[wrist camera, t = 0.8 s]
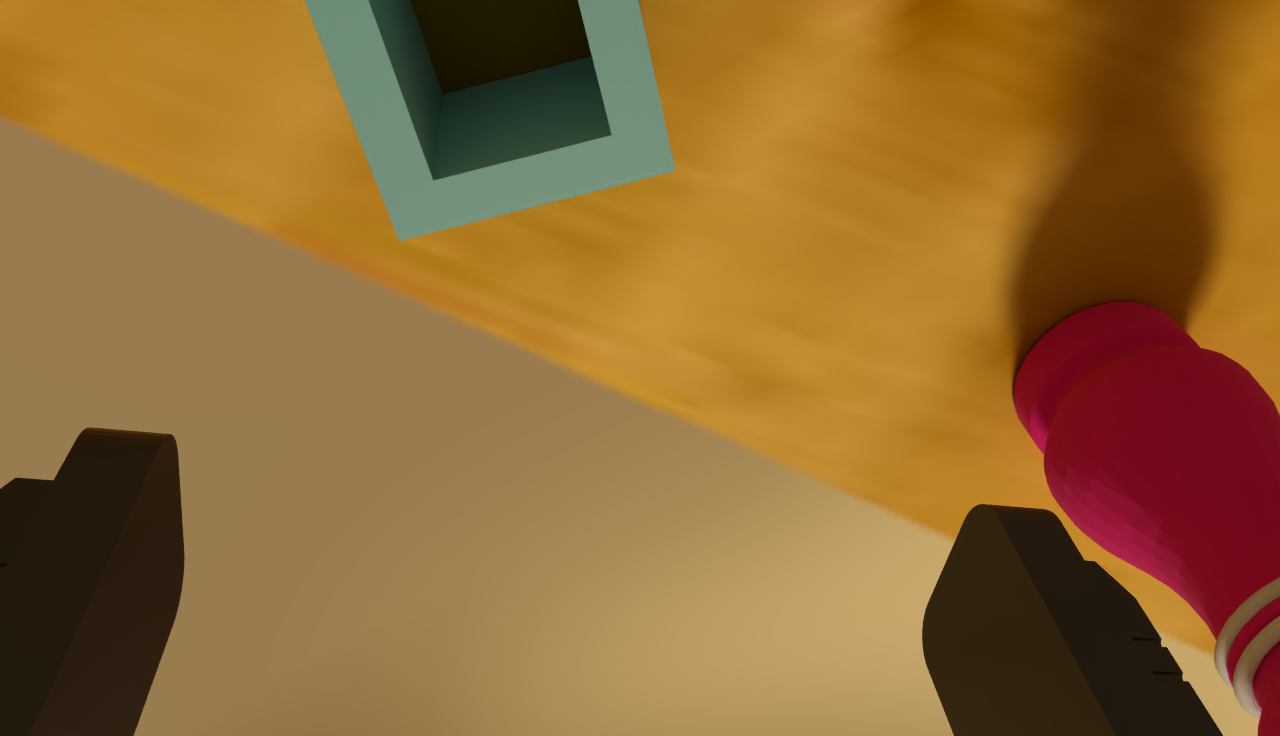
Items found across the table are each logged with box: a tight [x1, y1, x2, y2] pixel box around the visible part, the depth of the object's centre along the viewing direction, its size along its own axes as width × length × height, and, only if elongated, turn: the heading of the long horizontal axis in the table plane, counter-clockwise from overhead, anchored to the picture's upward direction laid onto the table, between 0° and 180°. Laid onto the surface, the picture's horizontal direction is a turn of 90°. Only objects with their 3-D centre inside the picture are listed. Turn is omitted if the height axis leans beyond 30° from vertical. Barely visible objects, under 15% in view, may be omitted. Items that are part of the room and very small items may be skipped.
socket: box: [305, 0, 676, 241], centre depth 27 cm, size 7×7×6 cm
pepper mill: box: [1014, 302, 1280, 736], centre depth 31 cm, size 7×7×20 cm
